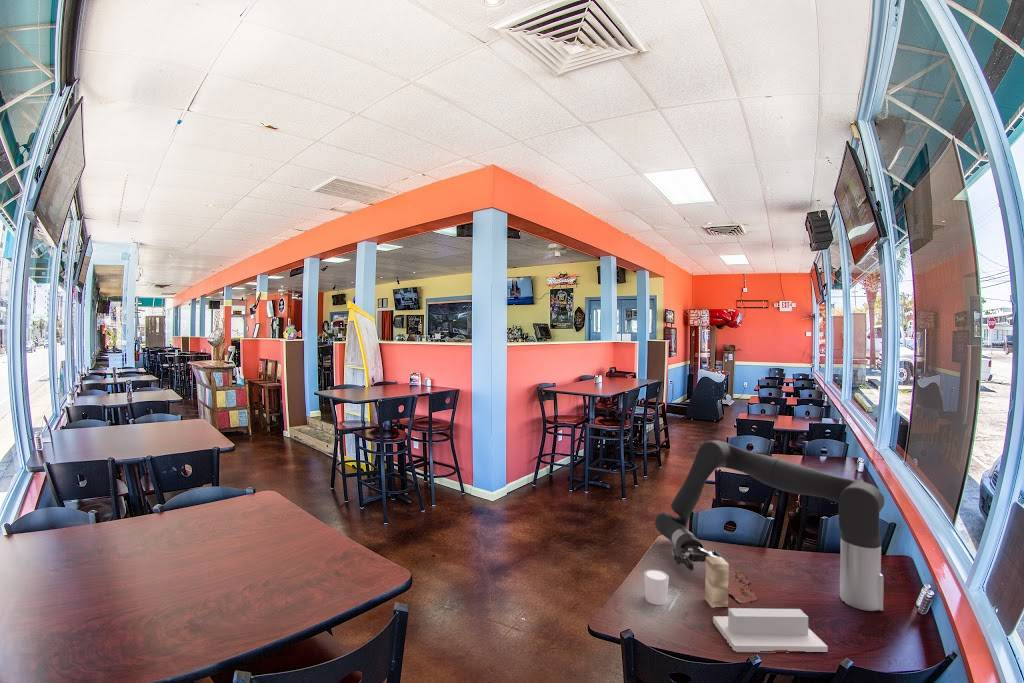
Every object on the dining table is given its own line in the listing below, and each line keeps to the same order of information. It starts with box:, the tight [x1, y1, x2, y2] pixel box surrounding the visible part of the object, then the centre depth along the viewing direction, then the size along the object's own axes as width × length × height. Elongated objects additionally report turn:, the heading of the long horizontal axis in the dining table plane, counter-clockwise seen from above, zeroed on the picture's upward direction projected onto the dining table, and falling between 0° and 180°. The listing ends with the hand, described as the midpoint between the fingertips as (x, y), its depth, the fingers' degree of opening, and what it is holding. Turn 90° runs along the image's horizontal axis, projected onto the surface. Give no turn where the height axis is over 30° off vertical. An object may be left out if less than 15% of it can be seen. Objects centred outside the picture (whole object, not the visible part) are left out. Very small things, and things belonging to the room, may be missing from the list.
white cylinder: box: [643, 569, 670, 606], centre depth 136 cm, size 7×7×7 cm
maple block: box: [704, 557, 730, 609], centre depth 135 cm, size 4×4×12 cm
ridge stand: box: [712, 607, 829, 653], centre depth 120 cm, size 22×12×6 cm, turn 90°
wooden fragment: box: [728, 568, 754, 603], centre depth 147 cm, size 26×11×1 cm, turn 167°
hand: (706, 567), depth 142 cm, fingers open, 8 cm apart
